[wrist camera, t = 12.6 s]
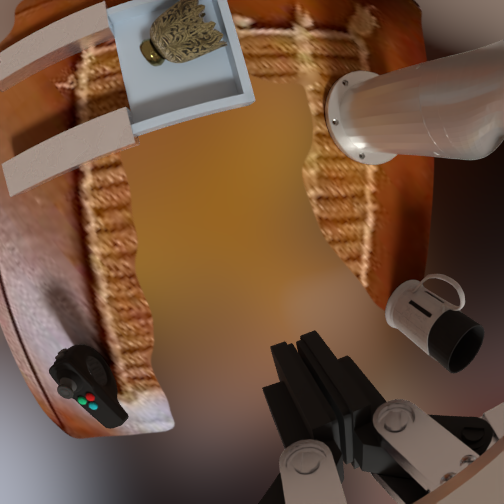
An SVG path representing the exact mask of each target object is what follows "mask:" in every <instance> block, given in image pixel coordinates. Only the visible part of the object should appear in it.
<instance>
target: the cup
mask: <svg viewBox="0 0 504 504" xmlns="http://www.w3.org/2000/svg"><path fill="white" fill-rule="evenodd" d="M198 3H199V0H180V1H178V2H177V3H175V4H174V5H173V6H171V7H170V8H169V9H167V10H166V11H165V12H163V13H162V14H161V15H160V16H159V17H158V18H157V19H156V20H155V21H154V22H153V24H152V26H151V28H150V38H148V39H145V40H143V41H142V42H141V43H140V45H139V49H140V52H141V54H142V55H143V57H144V58H145V59H146V61H147V62H148V63H149V64H150V65H152V66H154V67H157V66H161V65H162V64H163V63H164V61H165V60H168V61H170V62H172V63H184V62H188V61H191V60H193V59H196V58H198V57H200V56H203V55H205V54H207V53H210V52H212V51H214V50H217V49H219V48H221V47H224V46H227V44H226V43H227V42H224V41H220V40H221V39H222V37H223V34H222V33H221V32H219V31H218V30H217V29H214V27H215V25H216V23H215V22H213V21H210V22H204V21H203V18H204V16H205V15H206V14H205V13H203V12H204V10H205V5H202V4H200V5H198ZM202 17H203V18H202Z"/></svg>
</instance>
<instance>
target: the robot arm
mask: <svg viewBox="0 0 504 504" xmlns="http://www.w3.org/2000/svg"><path fill="white" fill-rule="evenodd" d="M343 84H344V85H343ZM325 117H326V123H327V127H328V130H329V132H330V135H331V137H332V139H333V140H334V142H335V144H336V145H337V146H338V147H339V149H340V150H341V151H342V152H343V153H344V154H345V155H347V156H348V157H349V158H351V159H353V160H354V161H357V162H360V163H363V164H370V165H378V164H382V163H385V162H387V161H389V160H391V159H392V158H394V157H395V156H396V155H397V154H406V155H421V156H433V157H444V158H454V159H466V160H475V159H480V158H483V157H486V156H487V155H489V154H490V153H491V152H493V151H494V150H495V149H496V148H497V147H498V146H499V145H500V144H501V142H502V141H503V140H504V40H501V41H499V42H496V43H493V44H491V45H488V46H485V47H482V48H479V49H475V50H471V51H468V52H465V53H461V54H457V55H453V56H449V57H444V58H441V59H436V60H432V61H428V62H424V63H420V64H417V65H413V66H410V67H406V68H403V69H399V70H396V71H392V72H389V73H386V74H383V75H378V74H376V73H373V72H369V71H355V72H351V73H348V74H346V75H344V76H342V77H341V78H339V79H338V80H337V81H336V82H335V83H334V84H333V86H332V87H331V89H330V91H329V93H328V96H327V99H326V105H325ZM332 121H333V122H334V124H333V123H332ZM359 155H360V157H359ZM300 339H301V340H299V341H297V342H296V345H297V349H298V352H297V350H296V348H295V347H294V345H293V344H292V343H291V344H288V345H287V343H286V342H282V343H279V344H276V345H273V346H271V352H272V355H273V359H274V363H275V366H276V369H277V373H278V377H279V380H280V382H278V383H275V384H272V385H269V386H266V387H263V388H262V389H263V392H264V395H265V398H266V401H267V403H268V406H269V409H270V412H271V414H272V417H273V420H274V422H275V425H276V427H277V430H278V432H279V435H280V437H281V440H282V443H283V445H284V448H285V450H284V451H283V453H282V455H281V457H280V463H279V466H280V473H279V475H278V476H277V478H276V479H275V481H274V482H273V484H272V485H271V487H270V488H269V489H268V491H267V492H266V494H265V495H264V496H263V498H262V499H261V501H260V502H259V503H258V504H347V502H346V499H345V495H344V492H343V489H342V486H341V484H342V482H343V480H344V471H343V461H344V462H345V464H348V463H351V464H352V466H353V467H354V469H356V468H358V467H360V468H361V470H362V471H366V472H370V473H371V474H372V476H373V477H374V479H375V480H376V481H377V482H378V483H379V484H380V485H381V486H382V487H383V488H384V489H385V490H386V491H387V493H388V494H389V495H390V496H391V497H392V498H393V499H394V500H395V501H396V502H397V503H398V504H504V402H503V403H502V404H500V405H498V406H496V407H494V408H493V409H491V410H489V411H487V412H485V413H484V414H483V416H482V417H480V418H478V417H460V416H459V417H458V416H440V415H427V414H426V413H425V412H423V411H422V410H421V409H420V408H418V407H417V406H416V405H415V404H413V403H411V402H410V401H407V400H403V399H398V400H397V399H395V400H391V401H388V402H386V401H385V399H384V398H383V397H382V396H381V394H380V393H379V392H378V391H377V390H376V388H375V387H374V386H373V385H372V383H371V382H370V381H369V380H368V379H367V377H366V376H365V375H364V374H363V372H362V371H361V370H360V369H359V367H358V366H357V365H356V364H355V363H354V361H353V360H352V359H351V358H350V357H349V356H345V357H342V358H340V359H337V358H336V356H335V355H334V354H333V353H332V351H331V350H330V349H329V347H328V346H327V345H326V344H325V342H324V341H323V339H322V338H321V337H320V335H319V334H318V333H317V332H316V331H312V332H309V333H307V334H304V335H301V336H300Z"/></svg>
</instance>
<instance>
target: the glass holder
mask: <svg viewBox="0 0 504 504" xmlns="http://www.w3.org/2000/svg"><path fill="white" fill-rule="evenodd" d="M429 278H439V279H442V280H445V281H447V282H449V283H450V284H451V285H453V286H454V287H455V288H456V290H457V291H458V293H459V296H460V302H461V303H460V306H459V307H458V306H454V305H452V304H450V303H449V302H447V301H445V300H443V299H442V298H440V297H439V296H437V295H435V294H434V293H432V292H430V291H429V290H427V289H426V288H425V287H424V286H423V283H424V282H425V281H426V280H427V279H429ZM464 304H465V297H464V292H463V290H462V288H461V287H460V285H459V284H458V283H457V282H456V281H455V280H453V279H452V278H450V277H448V276H445V275H442V274H431V275H427V276H426V277H425V278H424V279H423V280H422V281H421V282H420V281H418V280H409V281H406V282H404V283H402V284H401V285H400V286H399V287H397V288H396V290H395V291H394V292H393V293H392V295H391V296H390V298H389V300H388V303H387V306H386V311H385V316H386V321H387V323H388V324H389V325H390V326H392V327H394V328H398V329H399V330H400V331H401V332H403V333H404V334H405V335H406V336H407V337H408V338H409V339H411V340H412V341H413V342H414V343H415V344H416V345H418V346H419V347H420V348H421V349H422V350H423V351H424V352H426V353H427V354H428V355H429V356H430V357H432V358H433V359H434V360H436V361H438V362H439V363H440V364H441V365H442V366H444V367H445V368H446V369H447V370H448V371H449V372H451V373H457V372H459V371H461V370H463V369H464V368H465V367H467V365H468V364H470V362H471V361H472V360H473V359H474V357H475V356H476V354H477V353H478V351H479V349H480V347H481V345H482V342H483V338H484V328H483V327H482V326H481V325H480V324H478V323H477V322H475V321H474V320H472V319H471V318H469V317H467V316H466V315H465V314H463V313H462V312H461V311H460V309H461V308H462V307H463V306H464Z"/></svg>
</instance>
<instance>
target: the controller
mask: <svg viewBox="0 0 504 504" xmlns="http://www.w3.org/2000/svg"><path fill="white" fill-rule="evenodd" d="M55 359H56V361H55V362H54V365H52V366H51V367H50V369H49V373H50V375H51V376H52V378H53V379H54V380H55V381H56V383H57V384H58V385H59V386H58V388H57V391H58V393H59V394H60V395H61V396H62V397H64V398H66V399H70V398H73V399H75V400H76V401H77V402H78V403H79V404H80V405H81V406H82V407H83V408H84V409H85V410H86V411H88V412H89V413H90V414H91V415H92V416H93V417H94V418H95V419H97V420H98V421H99V422H100V423H101V424H102V425H103V426H105V427H106V428H110V429H111V428H115V427H118V426H121V425H122V424H123V423H124V422H125V421H126V420H127V419H128V414H127V413H126V412H125V410H124V409H123V408H122V406H121V405H120V404H119V402H118V400H117V385H116V381H115V378H114V376H113V374H112V372H111V369H110V367H109V366H108V364H107V363H106V361H105V360H104V359H103V357H102V356H101V355H100V354H99V353H98V352H97V351H95V350H94V349H92V348H91V347H89V346H86V345H81V344H79V345H74V346H72V347H70V348H68V349H63V350H61V351H60V352H58V355H57V356H56V357H55ZM90 373H91V374H90Z"/></svg>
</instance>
